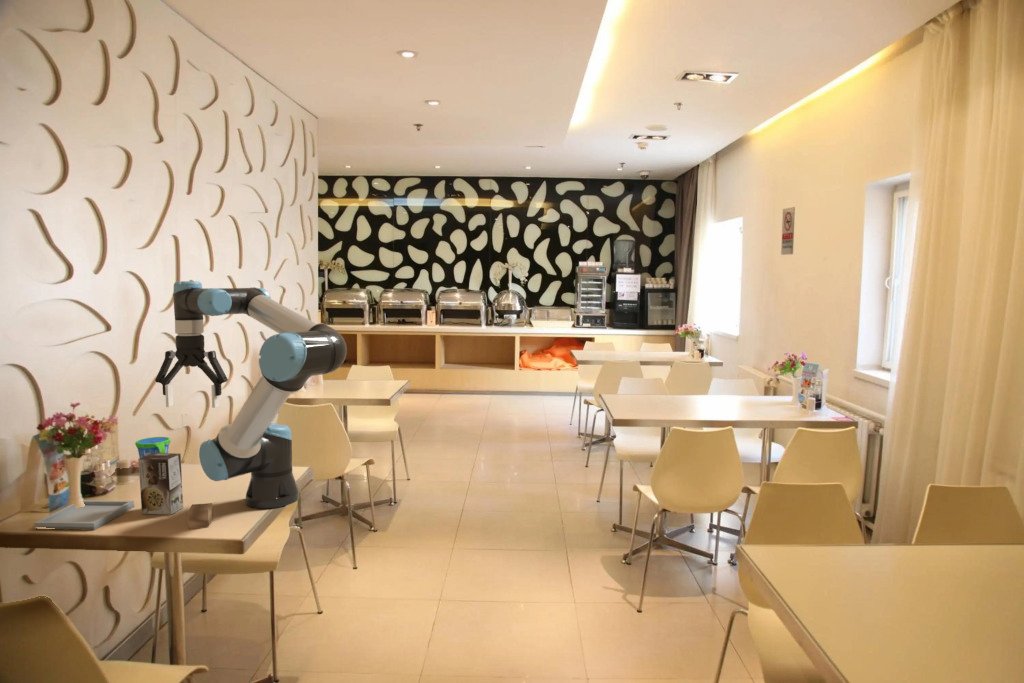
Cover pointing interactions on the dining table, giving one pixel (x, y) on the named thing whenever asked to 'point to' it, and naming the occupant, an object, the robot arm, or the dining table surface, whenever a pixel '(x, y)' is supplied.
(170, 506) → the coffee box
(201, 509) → the walnut block
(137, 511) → the dining table surface
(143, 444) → the snack cup
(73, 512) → the tray
